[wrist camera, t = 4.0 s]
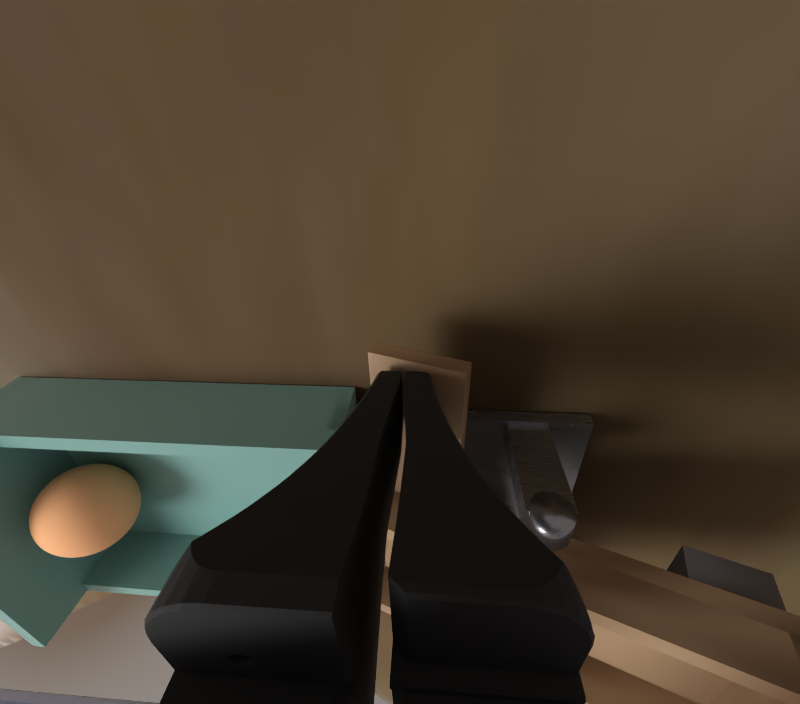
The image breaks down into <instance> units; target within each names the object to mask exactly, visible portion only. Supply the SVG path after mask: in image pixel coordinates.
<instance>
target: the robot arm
mask: <svg viewBox="0 0 800 704" xmlns="http://www.w3.org/2000/svg"><path fill="white" fill-rule="evenodd" d="M404 396H405V433H406V447H405V456H404V465H403V473H402V481H401V490H400V497H399V504H398V512H397V519H396V526H395V533H394V539H393V545H392V552H391V558H390V564H389V570H388V584H389V596H390V608H391V620H392V632H393V647H392V660H391V673H390V689H392V696H393V704H585V703H586V696H585V692H584V688H583V684H582V680H581V676H580V673H579V670H580V668H581V667H582V665H583V663H584V661H585V660H586V658H587V656H588V654H589V652H590V651H591V649H592V647H593V644H594V639H595V635H594V632H593V628H592V624H591V620H590V617H589V614H588V612H587V609H586V607H585V605H584V602H583V600H582V597H581V595H580V593H579V591H578V589H577V586H576V584H575V582H574V580H573V578H572V576H571V574H570V572H569V570H568V568H567V566H566V565H565V563H564V562H563V561H562V560H561V559H560V558H559V557H558V556H556V555H555V554H554V553H553V552H552V551H551V550H550V549H549V548H548V547H547V546H546V545H545V544H544V543H543V542H541V541H540V540H539V539H538V538H537V537H536V536H535V535H534V534H533V533H532V532H531V531H530V530H529V529H528V528H527V527H526V526H525V525H524V524H523V523H522V521H521V520H520V519H519V518H518V517H517V516H516V515H515V514H514V513H513V512H512V511H511V510H510V509H509V508H508V506H507V505H506V504H505V503H504V502H503V500H502V499H501V498H500V497H499V496H498V495H497V493H496V492H495V491H494V490H493V489H492V488H491V486H490V485H489V484H488V483H487V482H486V480H485V479H484V478H483V476H482V475H481V474H480V472H479V471H478V470H477V468H476V467H475V465H474V464H473V463H472V461H471V460H470V458H469V457H468V455H467V454H466V452H465V451H464V449H463V448H462V446H461V444H460V443H459V441H458V439H457V438H456V436H455V434H454V432H453V431H452V429H451V427H450V425H449V423H448V421H447V419H446V417H445V415H444V413H443V411H442V408H441V406H440V404H439V401H438V399H437V396H436V394H435V391H434V388H433V384H432V380H431V376H430V375H429V374H428V373H426V372H418V371H407V372H406V377H405V383H404ZM402 435H403V397H402V371H380V372H379V373H378V374H377V376H376V378H375V379H374V381H373V383H372V384H371V386H370V387H369V389H368V390H367V392H366V393H365V395H364V396H363V398H362V399H361V400H360V402H359V403H358V404H357V406H356V407H355V408H354V410H353V411H352V412H351V414H350V415H349V416H348V417H347V419H346V420H345V421H344V422H343V423H342V424H341V426H340V427H339V428H338V429H337V430H336V431H335V432H334V434H333V435H332V436H331V437H330V438H329V439H328V440H327V441H326V442H325V443H324V444H323V445H322V446H321V447H320V448H319V449H318V450H317V451H316V452H315V453H314V454H313V455H312V456H311V457H310V458H309V459H308V460H307V461H306V462H305V463H303V464H302V465H301V466H300V467H299V468H298V469H296V470H295V471H294V472H293V473H292V474H291V475H290V476H288V477H287V478H286V479H285V480H283V481H282V482H281V483H280V484H278V485H277V486H276V487H274V488H273V489H272V490H270V491H269V492H268V493H266V494H265V495H264V496H262V497H261V498H259V499H258V500H257V501H255V502H254V503H253V504H251V505H250V506H248V507H247V508H245V509H244V510H242V511H241V512H239V513H238V514H236V515H235V516H233V517H231V518H230V519H228V520H226V521H225V522H223V523H221V524H220V525H218V526H217V527H215V528H213V529H212V530H210V531H208V532H207V533H205V534H203V535H202V536H200V537H198V538H196V539H195V540H193V541H192V542H191V543H190V545H189V546H188V548H187V549H186V551H185V552H184V554H183V555H182V556H181V558H180V559H179V561H178V562H177V564H176V566H175V567H174V569H173V571H172V572H171V574H170V576H169V577H168V579H167V581H166V583H165V584H164V586H163V588H162V590H161V592H160V593H159V595H158V597H157V599H156V600H155V602H154V604H153V606H152V608H151V609H150V611H149V613H148V615H147V616H146V618H145V631H146V634H147V636H148V637H149V639H150V641H151V642H152V644H153V645H154V646H155V647H156V648H157V650H158V651H159V652H160V653H161V654H162V655H163V657H164V658H165V659H166V660H167V661H168V662H169V664H170V665H171V666H172V667H173V668H174V670H175V671H174V673H173V675H172V678H171V680H170V682H169V684H168V686H167V688H166V691H165V693H164V695H163V697H162V699H161V701H160V703H152V702H141V701H130V700H118V699H108V698H96V697H86V696H75V695H64V694H54V693H42V692H32V691H21V690H10V689H0V704H374V695H375V680H376V666H377V651H378V638H379V625H380V611H381V599H382V587H383V575H384V563H385V551H386V540H387V532H388V525H389V518H390V513H391V507H392V502H393V496H394V491H395V485H396V480H397V474H398V469H399V463H400V457H401V450H402Z"/></svg>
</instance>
